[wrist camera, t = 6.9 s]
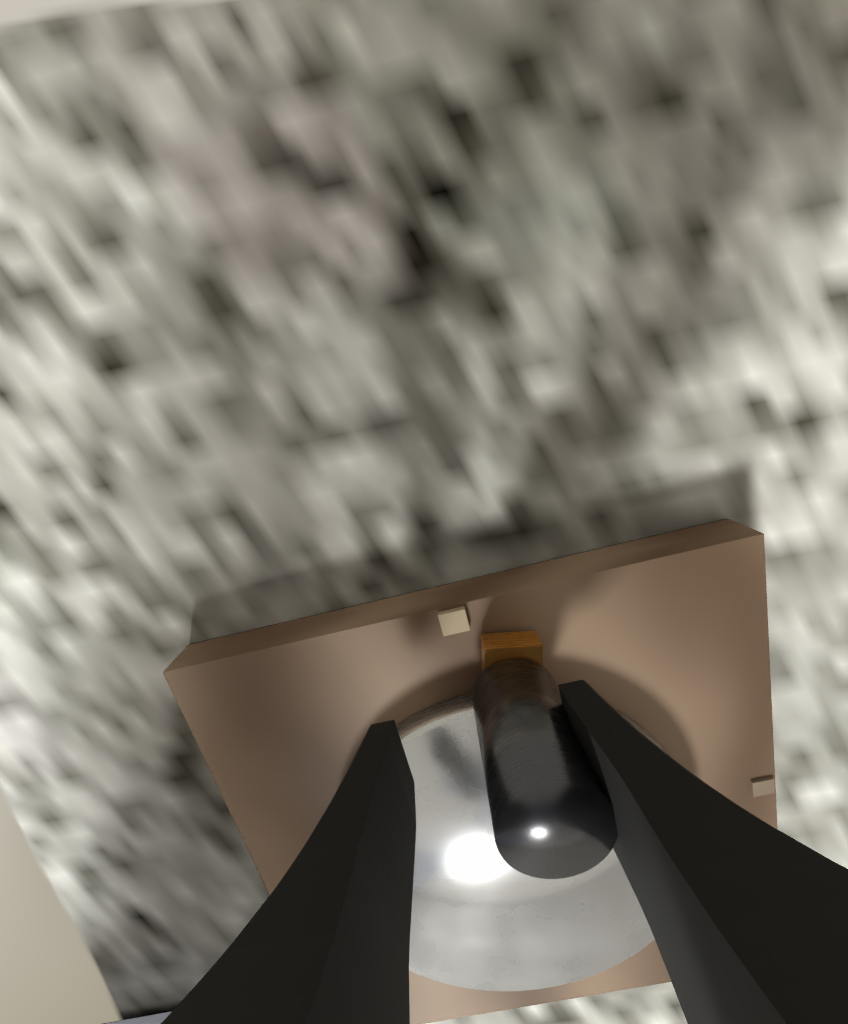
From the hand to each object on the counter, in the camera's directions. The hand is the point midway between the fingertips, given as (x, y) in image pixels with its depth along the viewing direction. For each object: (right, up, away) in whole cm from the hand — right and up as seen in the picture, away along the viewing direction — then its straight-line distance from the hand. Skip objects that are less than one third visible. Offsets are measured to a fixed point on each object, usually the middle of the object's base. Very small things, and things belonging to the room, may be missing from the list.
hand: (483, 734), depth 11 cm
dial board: (+2, -5, +5) cm, 8 cm away
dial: (+2, -6, +4) cm, 7 cm away
